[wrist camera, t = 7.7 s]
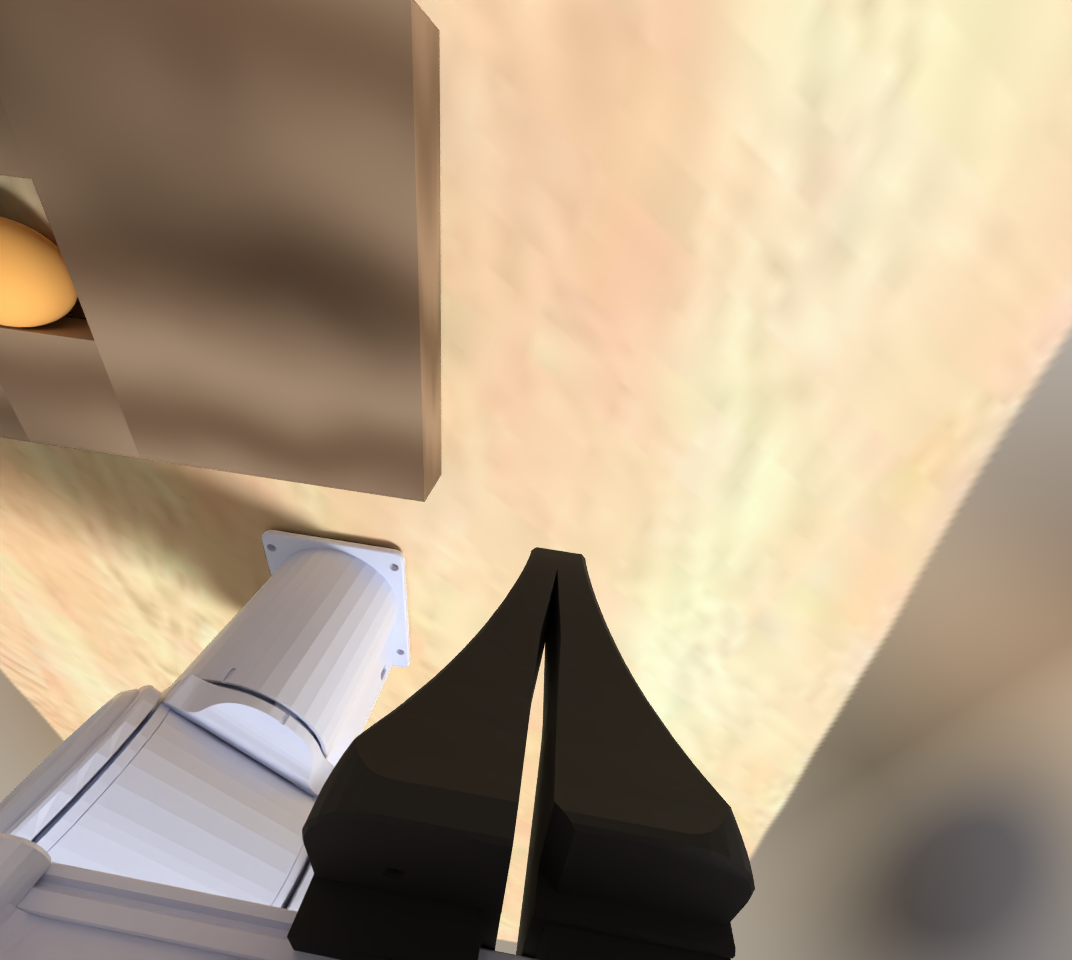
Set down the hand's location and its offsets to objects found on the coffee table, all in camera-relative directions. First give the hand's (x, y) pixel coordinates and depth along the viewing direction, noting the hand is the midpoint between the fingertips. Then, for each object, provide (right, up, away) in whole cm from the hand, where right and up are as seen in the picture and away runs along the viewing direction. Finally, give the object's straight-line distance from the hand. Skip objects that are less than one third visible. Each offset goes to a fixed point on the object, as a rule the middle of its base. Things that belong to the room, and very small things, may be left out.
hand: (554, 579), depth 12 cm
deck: (-15, +11, +6) cm, 20 cm away
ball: (-21, +11, +5) cm, 24 cm away
